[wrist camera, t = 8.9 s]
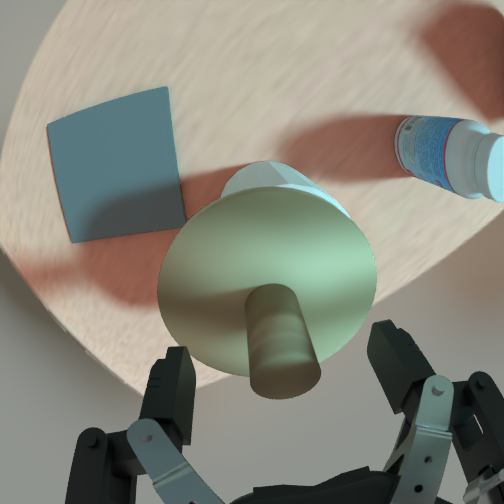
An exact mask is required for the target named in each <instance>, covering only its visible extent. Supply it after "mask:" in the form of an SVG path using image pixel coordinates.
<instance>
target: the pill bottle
mask: <svg viewBox="0 0 504 504" xmlns="http://www.w3.org/2000/svg"><path fill="white" fill-rule="evenodd" d="M394 144H395V152H396V156H397V159H398V161H399V163H400V165H401V167H402V168H403V169H404V171H406V172H407V173H408V174H409V175H411V176H414V177H416V178H418V179H421V180H424V181H426V182H429V183H431V184H434V185H436V186H439V187H441V188H444V189H446V190H448V191H451V192H453V193H455V194H458V195H460V196H462V197H465V198H468V199H478V198H481V197H483V196H485V197H486V198H488V199H492V200H494V201H496V202H504V136H503V135H499V134H496V133H490V131H489V130H488V129H487V128H486V127H485V126H484V125H482V124H481V123H479V122H477V121H474V120H468V119H460V118H450V117H437V116H418V115H415V116H410V117H408V118H406V119H405V120H404V121H403V122H402V123H401V124H400V125H399V127H398V129H397V131H396V134H395V142H394Z"/></svg>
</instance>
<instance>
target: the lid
mask: <svg viewBox="0 0 504 504" xmlns="http://www.w3.org/2000/svg"><path fill="white" fill-rule="evenodd" d="M376 283H377V272H376V264H375V259H374V255H373V252H372V250H371V247H370V245H369V243H368V241H367V239H366V238H365V236H364V234H363V233H362V231H361V230H360V229H359V228H358V227H357V225H356V224H355V223H354V222H353V221H352V220H351V219H350V218H349V217H348V216H346V215H345V214H344V213H343V212H342V211H341V210H339V209H338V208H337V207H336V206H335V205H333V204H331V203H330V202H328V201H327V200H325V199H323V198H321V197H319V196H317V195H314V194H312V193H309V192H306V191H302V190H299V189H295V188H288V187H279V186H271V187H256V188H250V189H244V190H241V191H238V192H235V193H231V194H228V195H226V196H224V197H222V198H220V199H217V200H215V201H213V202H212V203H210V204H209V205H207V206H206V207H204V208H202V209H201V210H200V211H198V212H197V213H196V214H195V215H194V216H193V217H192V218H190V219H189V220H188V221H187V223H186V224H185V225H184V226H183V227H182V228H181V230H180V231H179V232H178V234H177V235H176V237H175V238H174V240H173V242H172V243H171V245H170V247H169V250H168V252H167V254H166V256H165V258H164V261H163V263H162V266H161V269H160V274H159V278H158V289H157V294H158V305H159V309H160V312H161V316H162V318H163V321H164V323H165V325H166V327H167V329H168V331H169V332H170V334H171V336H172V337H173V338H174V339H175V341H176V342H177V343H178V344H179V345H180V346H186V347H187V348H188V351H189V354H190V355H191V356H192V357H194V358H195V359H197V360H198V361H200V362H202V363H203V364H205V365H207V366H209V367H212V368H214V369H216V370H219V371H222V372H225V373H229V374H233V375H238V376H246V377H250V385H251V388H252V389H253V391H254V392H256V393H257V394H258V395H260V396H262V397H265V398H269V399H288V398H293V397H296V396H299V395H302V394H303V393H306V392H307V391H309V390H310V389H312V388H313V387H314V386H315V385H316V384H317V382H318V381H319V379H320V377H321V369H320V366H319V363H320V362H322V361H323V360H325V359H327V358H328V357H330V356H332V355H333V354H334V353H335V352H337V351H338V350H340V349H341V348H342V347H343V346H344V345H345V344H346V343H347V342H348V341H349V340H350V339H351V338H352V337H353V336H354V335H355V334H356V333H357V331H358V330H359V328H360V327H361V326H362V324H363V323H364V321H365V318H366V317H367V315H368V313H369V311H370V309H371V306H372V303H373V300H374V296H375V292H376Z"/></svg>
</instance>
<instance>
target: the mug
mask: <svg viewBox="0 0 504 504" xmlns="http://www.w3.org/2000/svg"><path fill="white" fill-rule="evenodd" d="M271 186H279V187H288V188H295V189H299V190H302V191H306V192H309V193H312V194H314V195H317V196H319V197H321V198H323V199H325V200H327V201H328V202H330V203H331V204H333V205H335V206H336V207H337V208H338V209H339V210H341V211H342V212H343V213H344V214H345V215H346V216H348V217H349V215H348V214H347V213H346V211H345V210H344V209H343V208H342V207H341V206H340V204H339V203H338V202H337V201H336V200H335V199H334V198H333V197H332V196H330V195H329V194H328V193H326V192H325V191H324V190H323V189H321V188H320V187H319V186H317V185H316V184H315V183H313V182H312V181H311V180H309V179H308V178H307V177H305V176H304V175H302V174H301V173H300V172H298V171H297V170H295V169H293V168H291V167H289V166H288V165H286V164H284V163H279V162H273V161H263V162H257V163H251V164H250V165H248V166H246V167H244V168H242V169H240V170H238V171H237V172H236V173H235V174H234V175H233V176H232V177H231V178H230V179H229V180H228V181H227V183H226V185H225V187H224V189H223V191H222V194H221V196H220V198H222V197H224V196H226V195H228V194H231V193H235V192H238V191H241V190H244V189H250V188H256V187H271ZM349 218H350V217H349Z"/></svg>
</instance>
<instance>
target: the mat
mask: <svg viewBox="0 0 504 504" xmlns="http://www.w3.org/2000/svg"><path fill="white" fill-rule="evenodd" d="M47 126H48V134H49V142H50V149H51V155H52V161H53V167H54V172H55V178H56V182H57V187H58V192H59V196H60V200H61V204H62V208H63V212H64V216H65V220H66V223H67V227H68V230H69V234H70V237H71V240H72V243H78V242H84V241H91V240H97V239H103V238H110V237H117V236H124V235H130V234H137V233H145V232H152V231H159V230H167V229H175V228H182V227H183V226H184V225H185V224H186V217H185V211H184V205H183V199H182V193H181V187H180V181H179V174H178V167H177V160H176V153H175V146H174V138H173V130H172V122H171V113H170V104H169V94H168V87H166V86H165V87H161V88H156V89H152V90H147V91H143V92H139V93H136V94H132V95H128V96H125V97H121V98H118V99H114V100H111V101H108V102H105V103H102V104H99V105H96V106H93V107H90V108H87V109H84V110H81V111H79V112H76V113H73V114H71V115H68V116H66V117H63V118H61V119H59V120H56V121H54V122H52V123H49V124H47Z"/></svg>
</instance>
